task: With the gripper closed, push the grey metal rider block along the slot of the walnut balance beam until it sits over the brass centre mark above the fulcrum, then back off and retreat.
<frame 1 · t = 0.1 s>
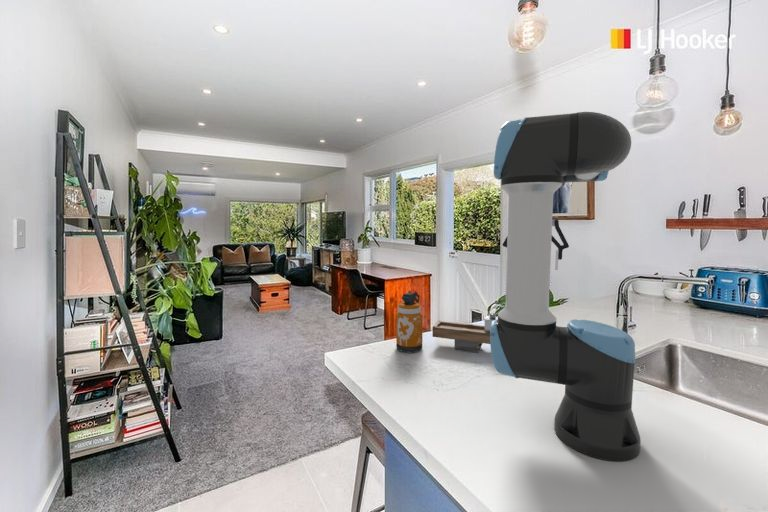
hand: (533, 268, 121), 28 cm above the worktop, fingers open, 13 cm apart
canister: (410, 348, 126), on the worktop
rider: (492, 323, 120), point 10 cm above the worktop, slide at -8.0 cm
beam: (467, 348, 124), on the worktop
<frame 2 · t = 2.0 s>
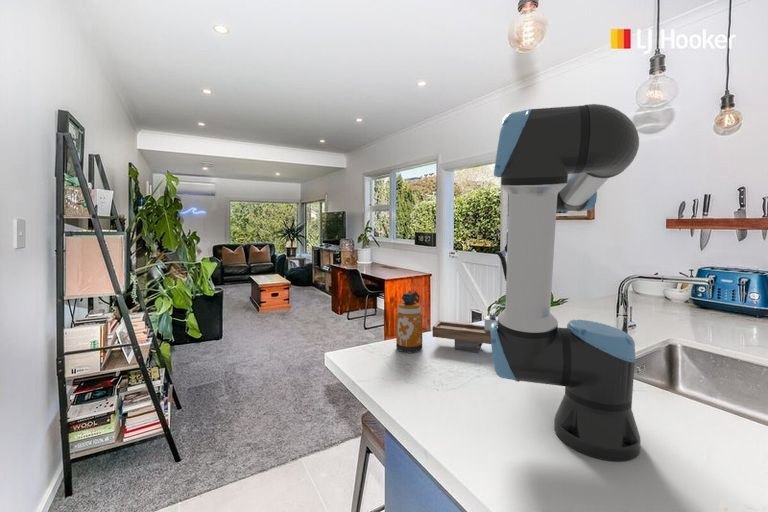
hand: (516, 303, 117), 17 cm above the worktop, fingers closed
nothing on the worktop moved.
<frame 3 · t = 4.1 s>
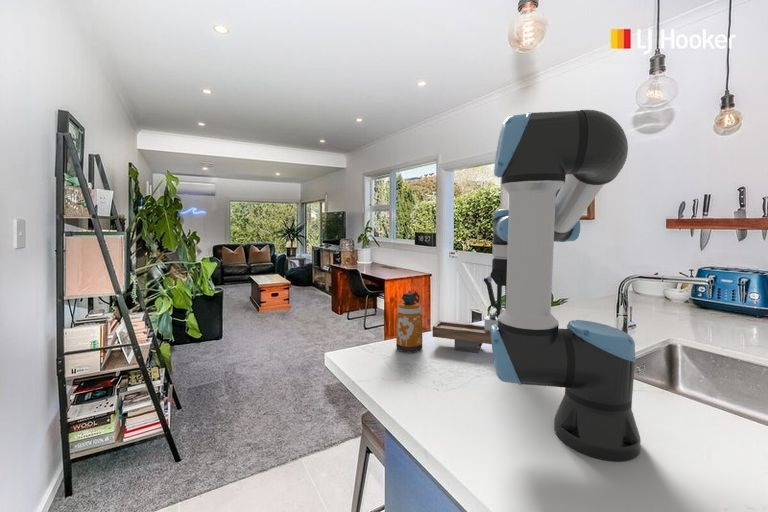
hand: (502, 328, 119), 9 cm above the worktop, fingers closed
rider: (492, 323, 120), point 10 cm above the worktop, slide at -8.0 cm, touching gripper
everything else where it was.
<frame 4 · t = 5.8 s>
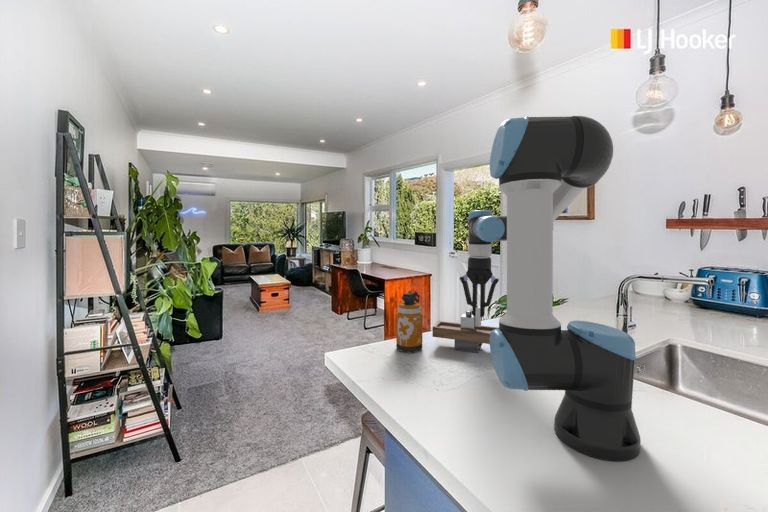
hand: (478, 325, 122), 9 cm above the worktop, fingers closed
rider: (468, 320, 123), point 10 cm above the worktop, slide at -0.1 cm, touching gripper
everything else where it was.
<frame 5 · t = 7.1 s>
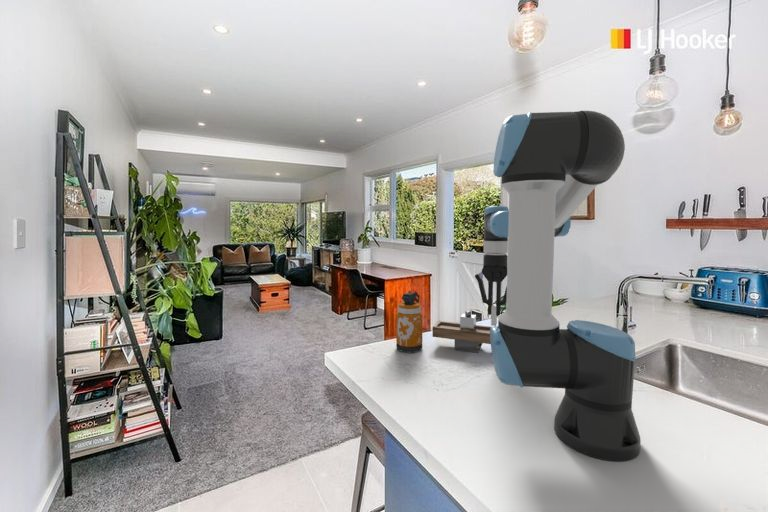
hand: (493, 324, 120), 10 cm above the worktop, fingers closed
rider: (468, 320, 124), point 10 cm above the worktop, slide at 0.1 cm
everything else where it was.
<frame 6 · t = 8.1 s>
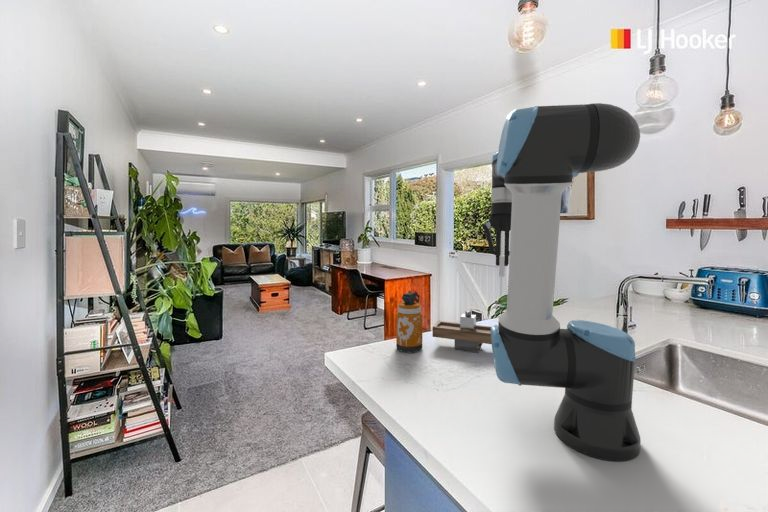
hand: (501, 275, 116), 26 cm above the worktop, fingers closed
nothing on the worktop moved.
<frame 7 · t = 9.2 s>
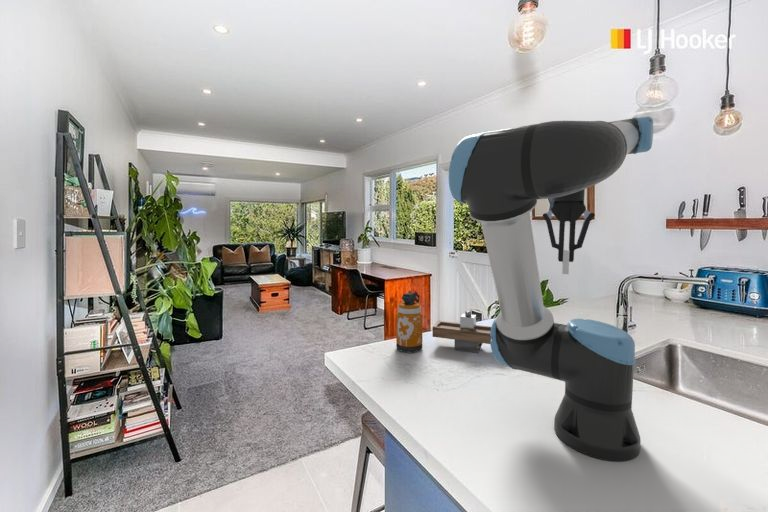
hand: (565, 273, 100), 29 cm above the worktop, fingers closed
nothing on the worktop moved.
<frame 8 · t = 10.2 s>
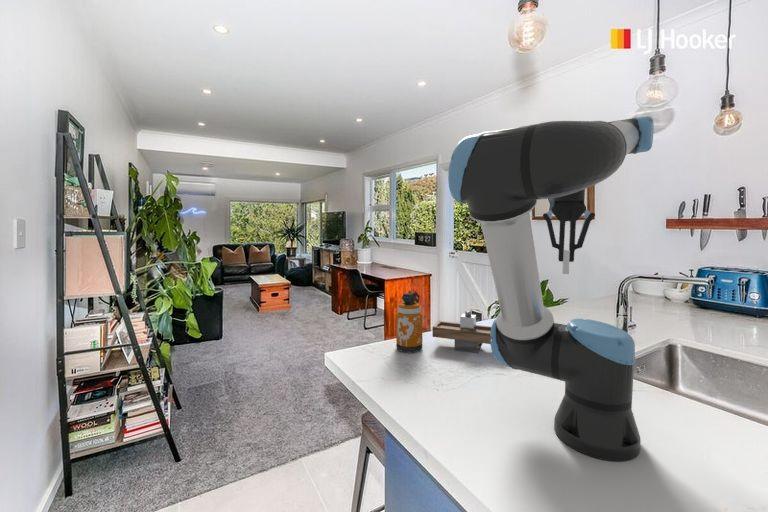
hand: (565, 273, 100), 29 cm above the worktop, fingers closed
nothing on the worktop moved.
at the end: rider slide at 0.1 cm; rider touching nothing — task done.
